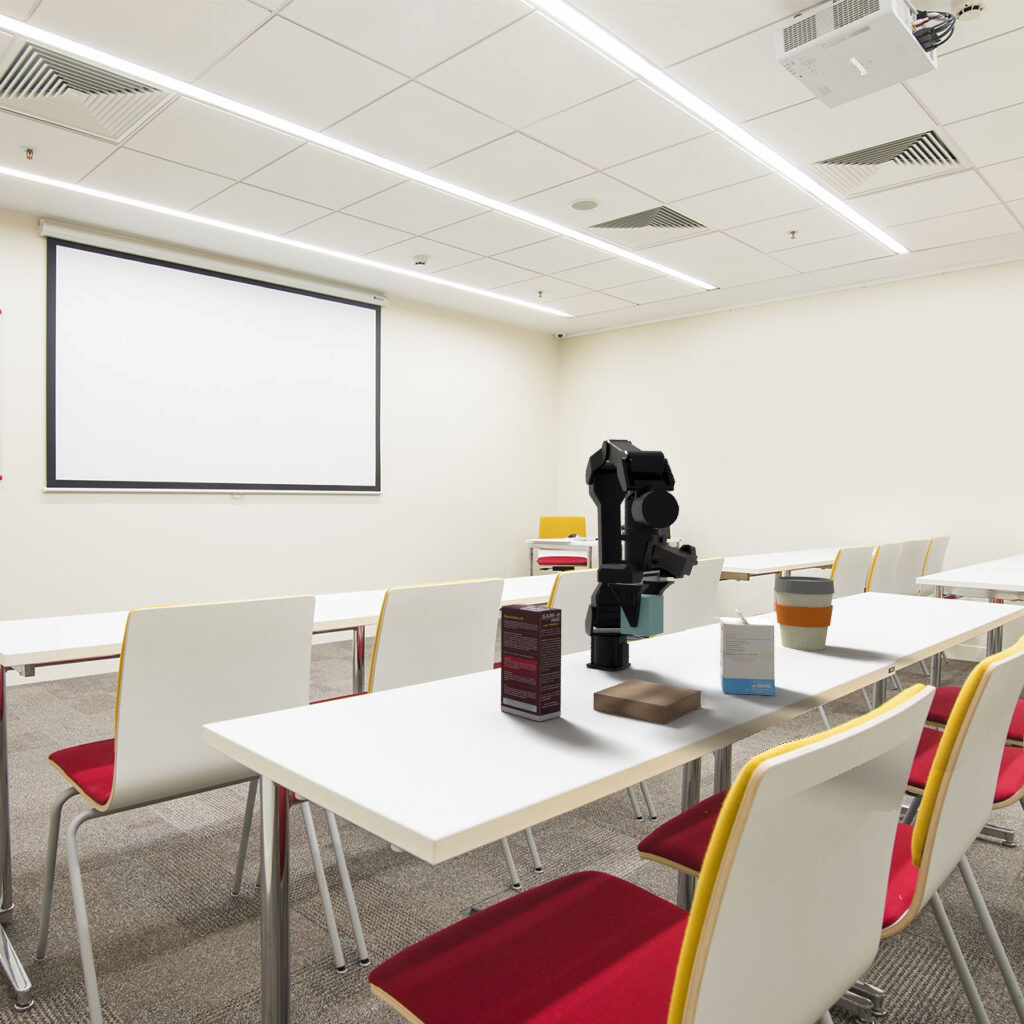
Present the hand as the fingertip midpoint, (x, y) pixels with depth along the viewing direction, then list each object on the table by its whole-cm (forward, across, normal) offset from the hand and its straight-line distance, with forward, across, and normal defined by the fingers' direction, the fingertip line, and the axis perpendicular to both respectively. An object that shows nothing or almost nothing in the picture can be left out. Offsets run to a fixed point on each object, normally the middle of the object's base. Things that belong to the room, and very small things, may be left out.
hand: (642, 625), depth 123 cm
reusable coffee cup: (+11, +65, -6) cm, 66 cm away
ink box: (+12, +18, -10) cm, 24 cm away
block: (+1, 0, 0) cm, 1 cm away
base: (+12, -4, -3) cm, 13 cm away
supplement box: (+12, -18, +9) cm, 24 cm away
